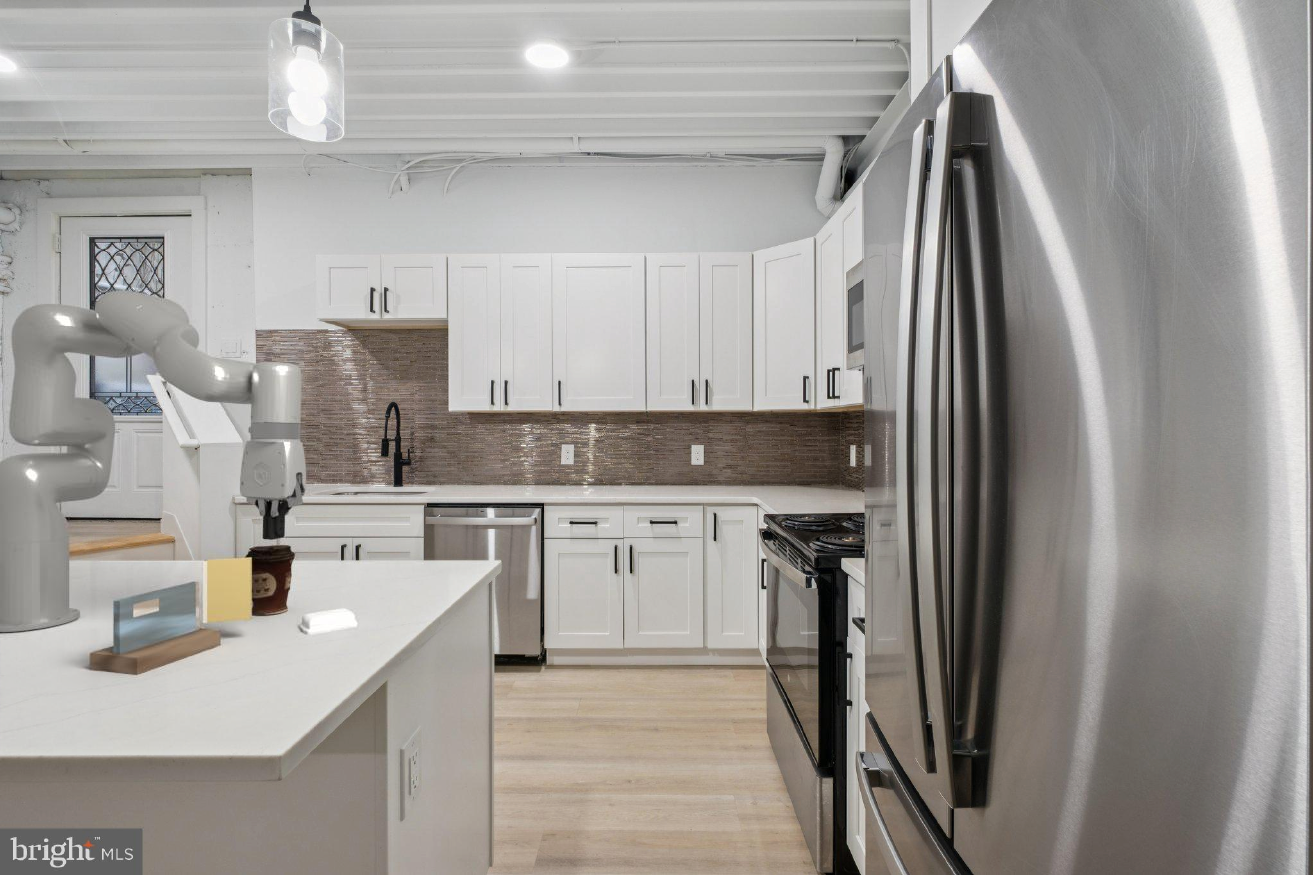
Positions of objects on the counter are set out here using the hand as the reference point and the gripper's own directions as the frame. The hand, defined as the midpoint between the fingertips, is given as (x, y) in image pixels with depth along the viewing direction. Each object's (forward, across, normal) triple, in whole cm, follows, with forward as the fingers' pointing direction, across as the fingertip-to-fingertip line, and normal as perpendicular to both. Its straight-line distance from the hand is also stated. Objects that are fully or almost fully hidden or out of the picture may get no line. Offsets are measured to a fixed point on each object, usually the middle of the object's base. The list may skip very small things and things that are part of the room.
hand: (273, 538), depth 115 cm
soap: (+18, +5, +8) cm, 20 cm away
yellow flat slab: (+14, -6, -4) cm, 15 cm away
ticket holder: (+18, -9, -13) cm, 24 cm away
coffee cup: (+18, -13, +13) cm, 26 cm away
